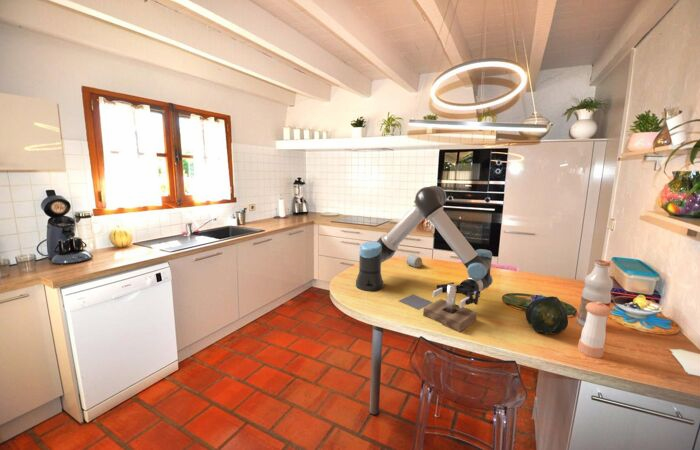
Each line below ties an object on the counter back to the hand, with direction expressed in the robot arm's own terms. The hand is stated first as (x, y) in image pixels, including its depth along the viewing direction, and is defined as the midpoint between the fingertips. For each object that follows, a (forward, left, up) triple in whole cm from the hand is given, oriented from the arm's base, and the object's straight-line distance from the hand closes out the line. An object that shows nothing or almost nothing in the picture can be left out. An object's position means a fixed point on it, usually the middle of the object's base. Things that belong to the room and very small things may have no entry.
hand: (446, 299), depth 127 cm
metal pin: (0, +4, -10) cm, 11 cm away
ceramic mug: (-53, +52, -10) cm, 74 cm away
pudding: (+22, +48, -10) cm, 53 cm away
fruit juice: (+42, +45, -10) cm, 62 cm away
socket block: (0, +4, -10) cm, 11 cm away
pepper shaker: (+46, +21, -10) cm, 51 cm away
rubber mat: (-19, +6, -10) cm, 22 cm away
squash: (+30, +26, -10) cm, 41 cm away
